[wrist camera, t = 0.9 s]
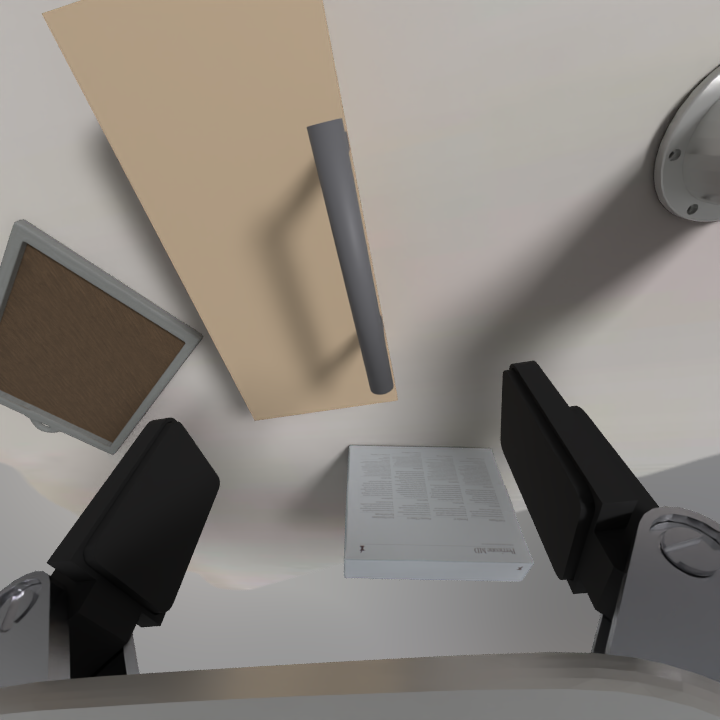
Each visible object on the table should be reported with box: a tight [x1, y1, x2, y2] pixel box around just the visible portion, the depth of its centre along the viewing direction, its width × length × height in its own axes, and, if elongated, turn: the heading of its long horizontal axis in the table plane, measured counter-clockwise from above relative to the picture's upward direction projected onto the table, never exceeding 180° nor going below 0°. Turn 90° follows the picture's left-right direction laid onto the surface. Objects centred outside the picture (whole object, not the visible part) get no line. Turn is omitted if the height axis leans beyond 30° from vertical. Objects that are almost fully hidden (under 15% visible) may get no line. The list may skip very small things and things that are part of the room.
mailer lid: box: [42, 0, 398, 421], centre depth 23 cm, size 15×31×9 cm, turn 12°
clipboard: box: [0, 219, 203, 455], centre depth 42 cm, size 19×2×30 cm
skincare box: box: [344, 445, 534, 581], centre depth 45 cm, size 21×6×16 cm, turn 89°
